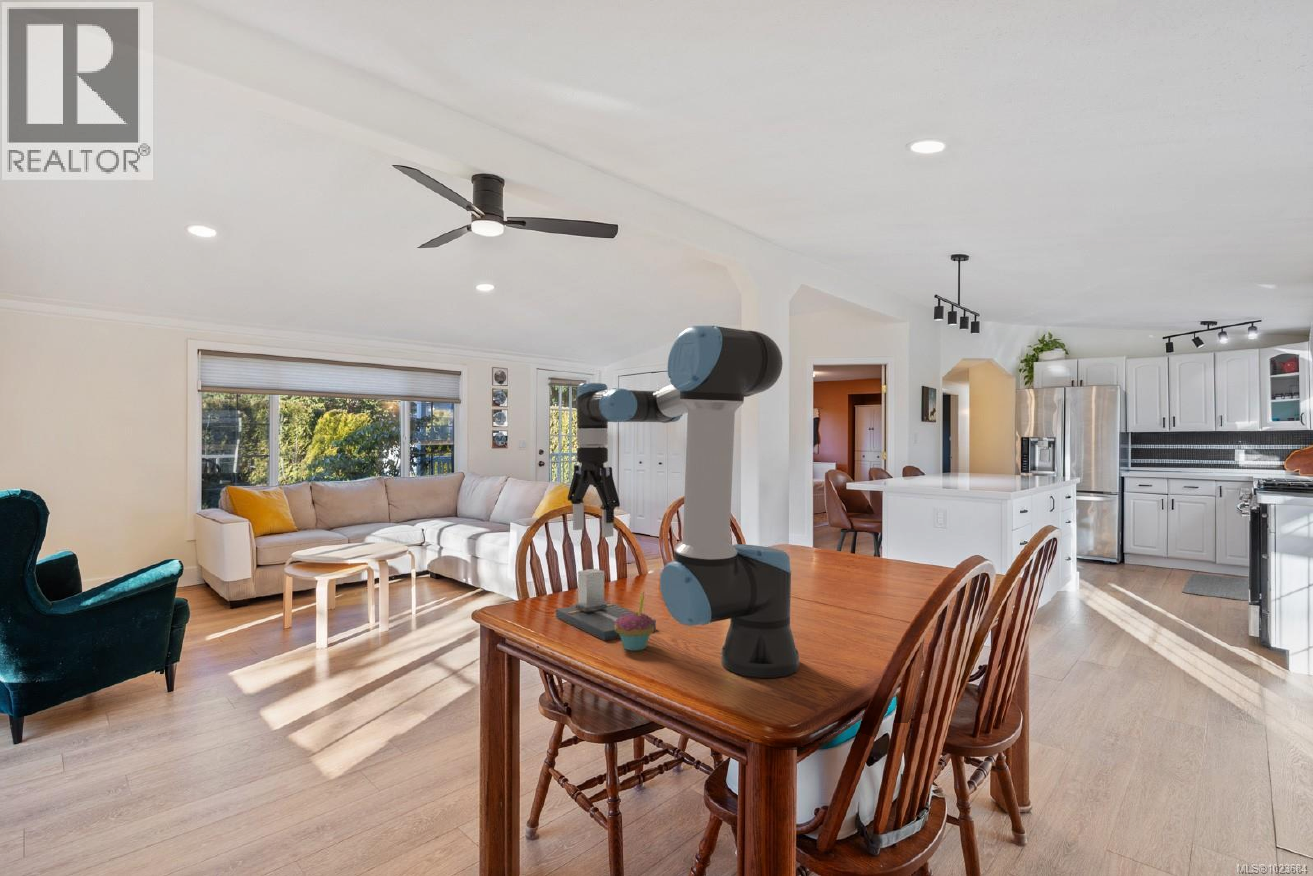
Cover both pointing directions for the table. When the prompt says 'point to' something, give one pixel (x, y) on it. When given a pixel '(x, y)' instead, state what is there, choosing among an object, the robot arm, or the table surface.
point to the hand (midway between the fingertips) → (592, 533)
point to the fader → (590, 590)
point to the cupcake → (634, 628)
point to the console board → (595, 620)
